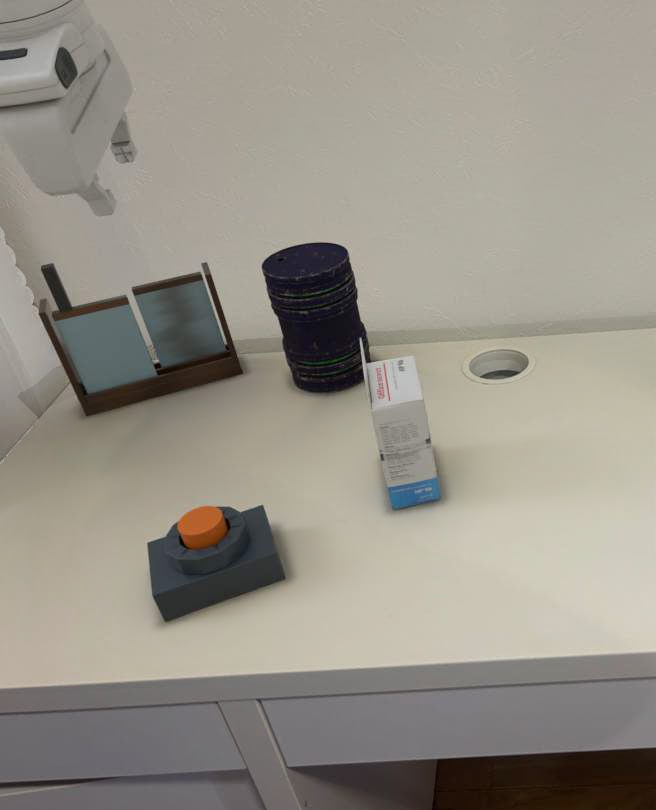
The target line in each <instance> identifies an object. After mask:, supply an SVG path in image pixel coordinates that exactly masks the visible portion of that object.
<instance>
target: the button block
mask: <svg viewBox="0 0 656 810" xmlns="http://www.w3.org/2000/svg"><path fill="white" fill-rule="evenodd" d="M216 507H217V508H219V509H220V510H221V511H222V514H223V517H224V519H225V522H226V524H227V527H228V532H227V534H226V536H225V537H224V538H223V539H222V540H220V541H219V542H218V543H216V544H215V545H212V546H209V547H206V548H203V549H189V548H188V547H186V546H185V544H184V542H183V540H182V537H181V535H180V533H179V531H178V522H179V520H178V521H176V522H175V523H174V524H172V526H171V528H170V529H169V530H168V531H167V533H166V535H165V536H164V537H161V538H157V539H154V540H152V541H148V542H147V543H146V546H147V556H148V567H149V577H150V585H151V587H150V588H151V596H152V598H153V600H154V603H155V605H156V606H157V609H158V611H159V613H160V615H161V617H162V619H163V621H164V622H165V623H167V622H169V621H173V620H176V619H179V618H180V617H183V616H186V615H189V614H192V613H194V612H197V611H201V610H202V609H203V610H204V609H205V608H208V607H211V606H214V605H217V604H219V603H222V602H224V601H227V600H231V599H233V598H235V597H239V596H241V595H244V594H247V593H250V592H252V591H255V590H259V589H262V588H263V587H267V586H269V585H272V584H275V583H277V582H280V581H283V580H286V579H287V578H286V573H285V570H284V567H283V563H282V560H281V557H280V553H279V550H278V547H277V543H276V539H275V536H274V533H273V530H272V526H271V524H270V521H269V518H268V515H267V512H266V509H265V506H264V504H261V505H257V506H254V507H251V508H248V509H245V510H243V511H239V510H237V509H235V508H234V507H231V506H216Z"/></svg>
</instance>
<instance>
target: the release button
mask: <svg viewBox="0 0 656 810" xmlns="http://www.w3.org/2000/svg"><path fill="white" fill-rule="evenodd" d="M217 507H218V506H214V505H203V506H198V507H195V508H193V509H191V510H189V511H187V512H186V513H185V514H183V515H182V516H181V518H179V520H178V521H179V522H178V521H177V522H178V531H179V533H180V535H181V537H182V540H183V542H184V544H185V546H186V547H188V548H189V549H203V548H206V547H209V546H212V545H215V544H216V543H218V542H219V541H220V540H222V539H223V538H224V537H225V536H226V534H227V532H228V527H227V524H226V522H225V519H224V517H223V514H222V511H221V510H220V509H219V508H217Z"/></svg>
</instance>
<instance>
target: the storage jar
mask: <svg viewBox="0 0 656 810" xmlns="http://www.w3.org/2000/svg"><path fill="white" fill-rule="evenodd" d="M350 260H351V258H350V253H349V250H348V249H347V248H346V247H345V246H343V245H341V244H339V243H334V242H326V241H325V242H322V241H321V242H319V241H318V242H317V241H316V242H308V243H307V242H306V243H301V244H295V245H292V246H288V247H285V248H283V249H280V250H278V251H275V252H274V253H271V254H270V255H269V256H267V257H266V258H265V259H263V262H262V263H261V271H262V275H263V276H264V281H265V285H266V292H267V296H268V298H269V301H270V308H271V309H272V311H273V314H274V315H275V316H276V317H277V320H278V324H279V327H280V331H281V334H282V339H281V341H282V342H281V343H282V350H283V351H284V357H285V360H286V363H287V365H288V367H289V370H290V372H291V374H292V375H291V376H292V380H293V384H294V386H296V387H297V388H298V389H299V390H301V391H303V392H306V393H311V394H320V395H321V394H331V393H337V392H342V391H345V390H348V389H350V388H353V387H356V386H357V385H359V384H360V383H362V382H363V381H365V379H364V372H363V363H362V355H361V347H360V338H361V339H362V344H363V349H364V355H365V360H366V364H367V363H372V358H371V352H370V343H369V338H368V335H367V334H368V333H367V329H366V327H365V324H364V323H363V321H362V320H361V319H362V318H361V314H360V311H359V310H360V309H359V306H358V299H359V292H358V291H359V290H358V288H357V285H356V283H357V281H356V277H355V273H354V271H353V267H352V263H351V261H350Z"/></svg>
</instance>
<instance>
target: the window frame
mask: <svg viewBox="0 0 656 810" xmlns="http://www.w3.org/2000/svg"><path fill="white" fill-rule="evenodd" d="M200 265H201V268H202V271H195V272H192V273H188V274H182V275H179V276H174V277H170V278H169V277H168V278H166V279H161V280H157V281H152V282H148V283H144V284H139V285H135V286H131V292H132V294H133V297H134V300H135V302H136V306H137V309H138V310H139V312H140V315H141V319H142V321H143V323H144V325H145V329H146V330H147V331H146V332H147V333H148V336H149V338H150V341H151V343H152V346H153V349H154V352H155V354H156V356H157V359H158V361H156V362H153V364H154V366H155V369H156V371H157V374H158V376H155V377H152V378H148V379H144V380H140V381H137V382H133V383H129V384H125V385H122V386H118V387H114V388H110V389H106V390H103V391H99V392H95V393H91V394H87V391H86V389H85V387H84V385H83V383H82V380H81V378H80V376H79V374H78V372H77V370H76V367H75V365H74V363H73V361H72V359H71V356H70V354H69V352H68V350H67V348H66V346H65V343H64V341H63V339H62V337H61V335H60V332H59V330H58V328H57V326H56V324H55V322H54V320H53V317H52V315H51V314H52V311H53V309H52V306H51V305H50V302H49V300H48V298H41V299H39V305H38V313H37V314H38V316H39V319H40V321H41V323H42V325H43V328H44V329H45V331H46V333H47V335H48V338H49V340H50V342H51V344H52V346H53V348H54V350H55V353H56V355H57V357H58V359H59V361H60V363H61V366H62V368H63V369H64V372H65V374H66V376H67V378H68V381H69V382H70V385H71V387H72V389H73V391H74V393H75V395H76V398H77V400H78V402H79V404H80V405H81V408H82V411H83V412H84V415H85V416H86V417H87V416H91V415H96V414H100V413H103V412H106V411H110V410H114V409H117V408H120V407H124V406H128V405H132V404H136V403H140V402H143V401H147V400H151V399H153V398H157V397H162V396H165V395H168V394H172V393H176V392H179V391H183V390H186V389H190V388H193V387H197V386H198V387H199V386H201V385H204V384H208V383H212V382H216V381H219V380H220V381H221V380H223V379H227V378H230V377H234V376H238V375H241V374H243V373H244V372H243V368H242V365H241V363H240V359H239V356H238V353H237V349H236V347H235V344H234V341H233V337H232V335H231V332H230V331H231V330H230V328H229V324H228V322H227V320H226V316H225V313H224V310H223V307H222V306H223V305H222V303H221V301H220V297H219V294H218V291H217V288H216V284H215V282H214V279H213V275H212V272H211V269H210V267H209V263H208V262H207V261H205V262H201V263H200ZM202 272H203V273H202ZM203 274H204V277H205V280H204V277H203ZM205 281H206V282H207V283H205ZM206 284H207V286H206ZM207 287H208V288H207ZM208 289H209V292H210V294H209V293H208ZM209 295H210V296H211V298H210V296H209ZM211 299H212V301H213V303H212V301H211ZM213 305H214V307H215V310H214V307H213ZM215 311H216V313H215ZM216 314H217V316H216ZM217 317H218V320H219V322H218V320H217ZM219 323H220V326H219ZM220 327H221V329H222V332H221V329H220ZM222 333H223V335H222ZM223 336H224V338H225V340H224V338H223ZM225 342H226V344H225Z"/></svg>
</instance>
